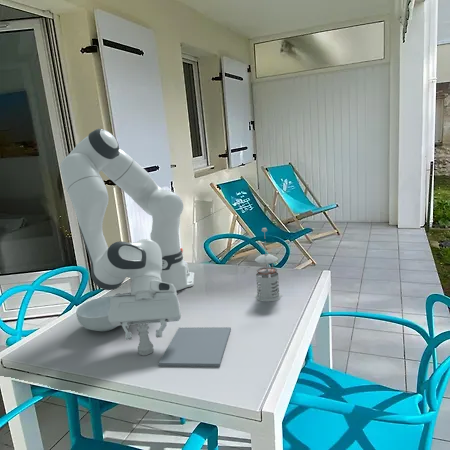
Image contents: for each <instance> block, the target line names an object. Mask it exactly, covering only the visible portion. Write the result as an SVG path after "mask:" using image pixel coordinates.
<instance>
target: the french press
mask: <svg viewBox="0 0 450 450" xmlns="http://www.w3.org/2000/svg"><path fill="white" fill-rule="evenodd" d="M261 232H263V233H264V238H266V232H268V229H267V227H262V228H261ZM266 243H267V242H264V248H265V254H261V255H259V256H257V257H256V258H255V259H254V261H255V262H256V263H257V264H262V265H266V266H263V267H259V268H258V269H256V276H255V279H256V289H257V291H256V294H255V296H254V298H255V299H256V300H258V301H260V302H274V301H278V300H280V299H282V297H283V294H282V293H281V292H280V285H279V284H280V281H279V273H278V269H277V268H276V267H274V263H276V262H278V260H279V258H278V257H277V256H275V255H273V254H271V253H270V254H269V253H268V254H267V247H266ZM269 264H271V266H269ZM269 275H270V277H269ZM260 276H261V277H260Z"/></svg>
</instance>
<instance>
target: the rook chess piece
mask: <svg viewBox="0 0 450 450" xmlns="http://www.w3.org/2000/svg"><path fill="white" fill-rule="evenodd" d="M149 329H150V327H149V326H148V323H147V324H146V323H145V324H143V323H142V324H137V329H136V331H138V336H139V343H138V346H137V353H138V354H139V355H140V356H148V355H150V354H152V353H153V352H154V350H155V348H154V345H153V342H152V341H151V340H150V336H149Z"/></svg>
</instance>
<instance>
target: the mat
mask: <svg viewBox="0 0 450 450" xmlns="http://www.w3.org/2000/svg"><path fill="white" fill-rule="evenodd" d="M231 331H232V327H229V326H227V327H224V326H222V327H218V326H217V327H215V326H213V327H207V326H206V327H205V326H204V327H178V329H177V330H176V332H175V334H174V336H173V337H172V339H171V341H170V343H169V344H168V346H167V347H166V349H165V352H164V353H163V355H162V356H161V358H160V360H159V362H158V367H212V368H213V367H215V368H217V367H219V368H220V367H221V364H222V362H223V358H224V354H225V351H226V348H227V345H228V341H229V338H230V334H231Z"/></svg>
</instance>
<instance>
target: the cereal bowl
mask: <svg viewBox="0 0 450 450" xmlns="http://www.w3.org/2000/svg"><path fill="white" fill-rule="evenodd" d="M113 296H114V295H112V296H111V295H110V296H108V295H107V296H102V297H98V298H94V299H91V300H89V301H86V302H84V303H82V304H81V305H80V306H78V308H77V309H76V312H75V313H76V318H77V321H78V323H79V324H80V325H81V326H82V327H83V328H84V329H86V330H89V331H96V332H108V331H111V330H114V329H116V328H117V327H118V326H113V325H111V324H110V322H109V321H108V315H109V310H110V299H111V298H112V297H113Z"/></svg>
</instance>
